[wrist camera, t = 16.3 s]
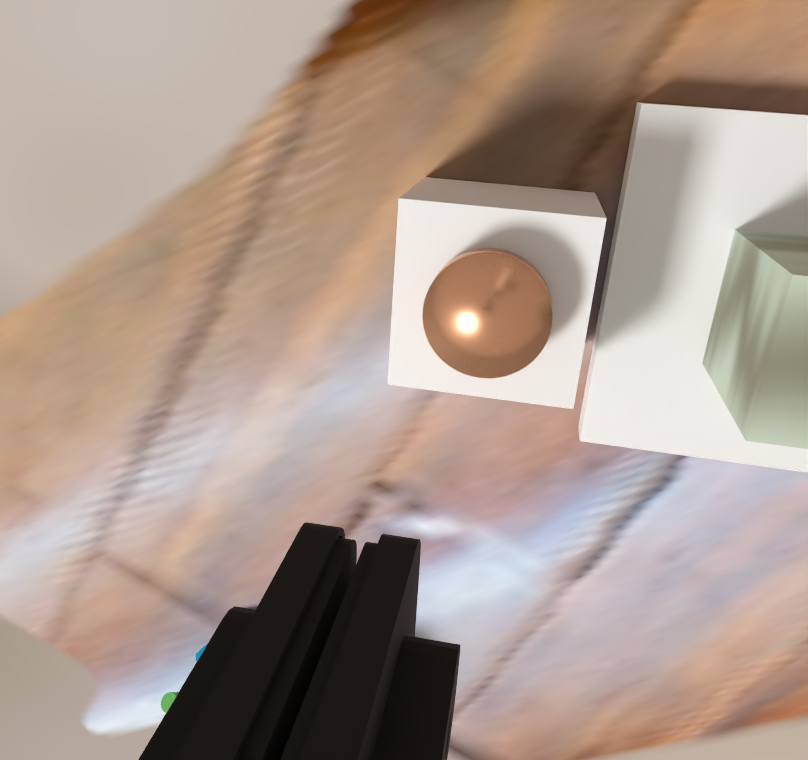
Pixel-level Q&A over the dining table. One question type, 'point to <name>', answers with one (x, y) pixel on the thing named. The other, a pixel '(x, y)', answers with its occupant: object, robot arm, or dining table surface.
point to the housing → (763, 338)
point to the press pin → (488, 313)
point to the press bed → (619, 276)
